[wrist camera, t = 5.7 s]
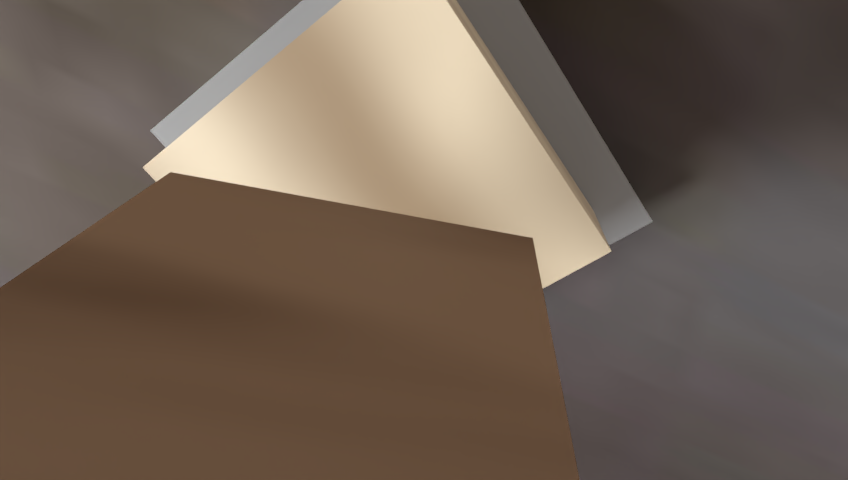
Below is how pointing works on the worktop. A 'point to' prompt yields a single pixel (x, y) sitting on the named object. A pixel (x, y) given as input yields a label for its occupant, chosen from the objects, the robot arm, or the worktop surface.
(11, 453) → the walnut cube
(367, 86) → the birch top block
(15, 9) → the worktop surface
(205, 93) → the grey base block
